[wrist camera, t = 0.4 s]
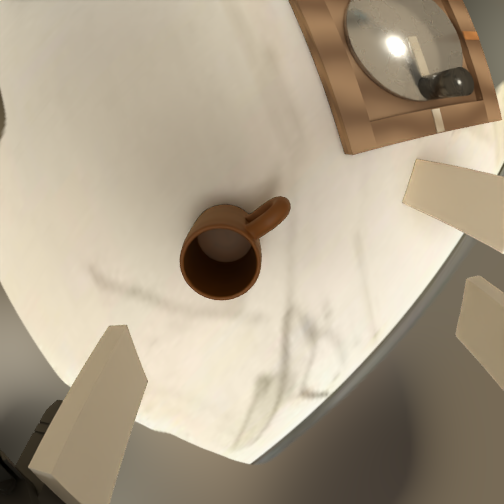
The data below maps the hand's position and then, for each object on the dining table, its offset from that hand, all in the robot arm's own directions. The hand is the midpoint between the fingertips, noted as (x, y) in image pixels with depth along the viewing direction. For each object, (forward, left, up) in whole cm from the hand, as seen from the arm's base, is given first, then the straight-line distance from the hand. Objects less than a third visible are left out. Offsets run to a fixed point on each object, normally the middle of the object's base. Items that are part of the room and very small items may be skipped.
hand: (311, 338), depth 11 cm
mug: (+1, -3, -27) cm, 27 cm away
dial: (-14, +22, -25) cm, 37 cm away
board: (-15, +23, -27) cm, 38 cm away
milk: (+4, +21, -27) cm, 34 cm away
